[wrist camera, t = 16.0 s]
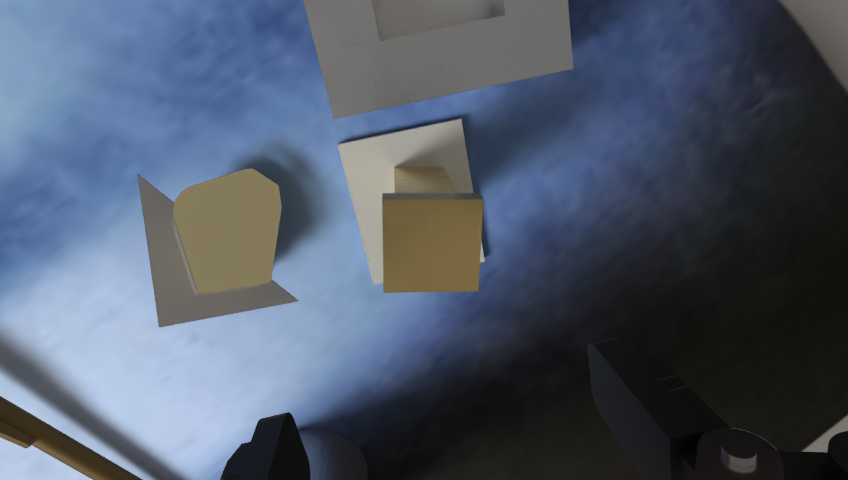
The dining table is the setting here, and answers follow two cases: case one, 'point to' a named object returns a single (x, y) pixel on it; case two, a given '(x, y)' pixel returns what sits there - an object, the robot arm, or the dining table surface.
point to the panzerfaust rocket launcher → (56, 444)
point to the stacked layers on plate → (213, 247)
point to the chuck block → (432, 47)
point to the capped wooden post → (430, 233)
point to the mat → (375, 174)
